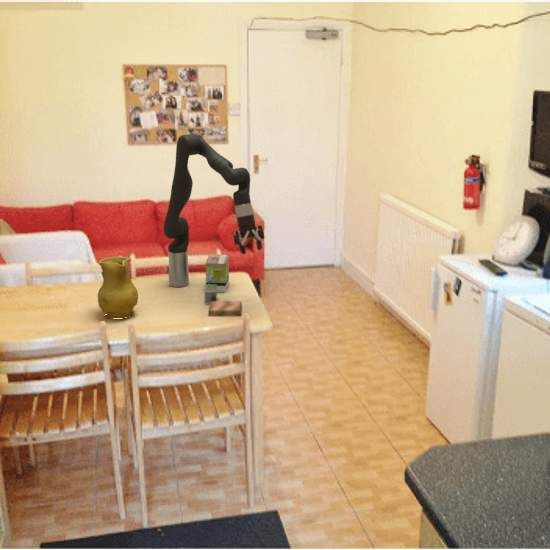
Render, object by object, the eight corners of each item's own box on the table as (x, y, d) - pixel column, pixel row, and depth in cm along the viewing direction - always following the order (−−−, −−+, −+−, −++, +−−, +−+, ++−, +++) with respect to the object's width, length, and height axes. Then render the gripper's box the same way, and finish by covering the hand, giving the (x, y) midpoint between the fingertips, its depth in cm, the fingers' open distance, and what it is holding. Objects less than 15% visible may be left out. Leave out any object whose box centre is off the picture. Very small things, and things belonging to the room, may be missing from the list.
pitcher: (96, 322, 285) (93, 265, 279) (100, 308, 303) (98, 254, 296) (138, 321, 288) (136, 264, 281) (139, 307, 306) (138, 253, 299)
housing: (205, 304, 306) (204, 290, 304) (206, 298, 314) (205, 284, 312) (216, 304, 306) (215, 290, 304) (217, 298, 314) (216, 284, 312)
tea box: (226, 293, 321) (226, 263, 316) (205, 292, 321) (204, 263, 317) (229, 282, 335) (228, 254, 331) (209, 282, 336) (208, 253, 331)
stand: (208, 316, 293) (208, 310, 292) (210, 306, 304) (210, 300, 304) (240, 315, 293) (240, 310, 293) (241, 305, 305) (241, 300, 304)
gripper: (253, 212, 297) (260, 248, 299) (226, 218, 289) (233, 255, 291) (263, 211, 291) (269, 248, 293) (236, 217, 283) (243, 255, 285)
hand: (251, 251), depth 292 cm, fingers open, 8 cm apart
